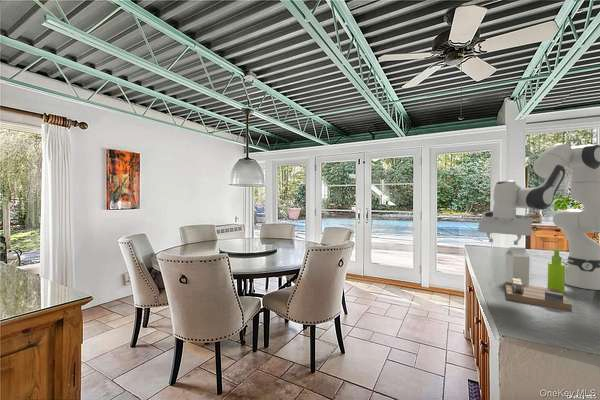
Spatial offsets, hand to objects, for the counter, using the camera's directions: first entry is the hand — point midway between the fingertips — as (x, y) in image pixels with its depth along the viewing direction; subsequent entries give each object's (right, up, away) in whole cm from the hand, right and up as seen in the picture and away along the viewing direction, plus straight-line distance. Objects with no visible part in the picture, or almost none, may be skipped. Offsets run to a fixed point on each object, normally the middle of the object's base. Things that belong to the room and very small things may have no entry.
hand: (503, 243), depth 130 cm
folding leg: (+2, -20, -5) cm, 20 cm away
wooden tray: (+7, -22, -9) cm, 25 cm away
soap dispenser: (+25, -23, 0) cm, 34 cm away
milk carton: (+14, -23, +10) cm, 29 cm away
